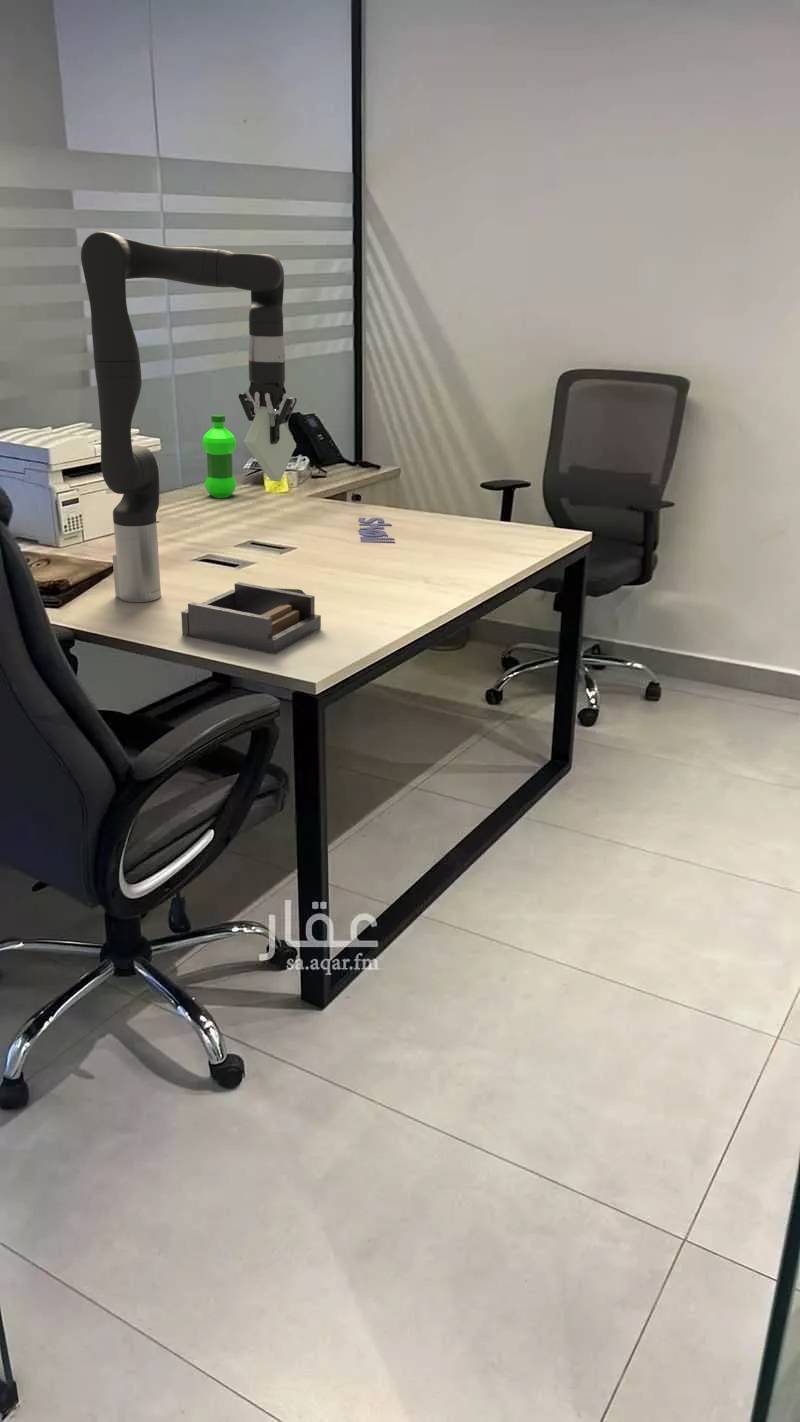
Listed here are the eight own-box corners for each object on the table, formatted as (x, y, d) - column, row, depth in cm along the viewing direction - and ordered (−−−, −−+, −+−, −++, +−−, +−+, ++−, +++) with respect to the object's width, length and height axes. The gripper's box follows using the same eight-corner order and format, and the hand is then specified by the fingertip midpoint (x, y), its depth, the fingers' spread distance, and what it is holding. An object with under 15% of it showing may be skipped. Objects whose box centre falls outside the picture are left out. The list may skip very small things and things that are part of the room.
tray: (182, 635, 219) (180, 602, 216) (232, 611, 234) (231, 580, 231) (274, 654, 210) (274, 620, 208) (320, 628, 225) (320, 597, 222)
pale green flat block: (270, 480, 235) (243, 441, 223) (286, 443, 238) (261, 402, 226) (280, 481, 234) (253, 442, 222) (296, 444, 237) (271, 403, 225)
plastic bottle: (216, 501, 334) (212, 418, 324) (198, 494, 341) (195, 414, 331) (243, 497, 340) (241, 416, 330) (225, 491, 347) (223, 412, 337)
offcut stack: (250, 644, 216) (249, 618, 214) (282, 627, 226) (281, 602, 224) (268, 648, 214) (268, 621, 212) (299, 631, 224) (299, 606, 222)
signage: (357, 517, 318) (390, 517, 319) (357, 519, 318) (390, 520, 319) (358, 541, 292) (395, 541, 293) (358, 543, 292) (395, 544, 293)
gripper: (228, 357, 222) (231, 442, 229) (285, 362, 216) (286, 448, 223) (248, 354, 228) (250, 437, 235) (304, 359, 223) (305, 444, 230)
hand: (268, 442), depth 229 cm, fingers closed on pale green flat block, 2 cm apart
